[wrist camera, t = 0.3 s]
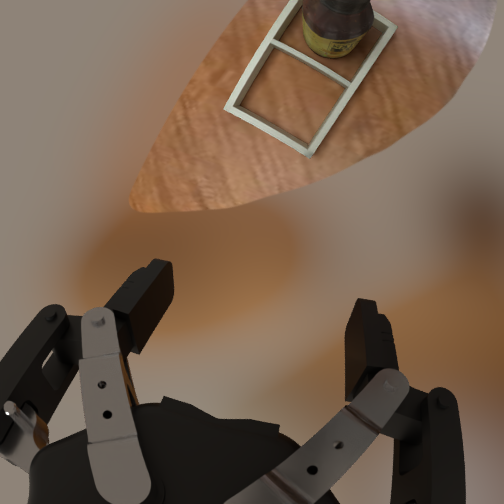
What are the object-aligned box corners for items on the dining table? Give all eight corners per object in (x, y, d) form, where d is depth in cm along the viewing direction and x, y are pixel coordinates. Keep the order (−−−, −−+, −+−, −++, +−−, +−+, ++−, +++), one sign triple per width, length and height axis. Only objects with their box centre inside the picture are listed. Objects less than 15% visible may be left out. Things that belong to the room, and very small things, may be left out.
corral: (308, -15, 25) (307, -25, 22) (390, 32, 26) (397, 26, 23) (231, 107, 35) (223, 108, 32) (310, 153, 36) (309, 158, 33)
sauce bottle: (332, 69, 30) (352, 39, 13) (293, 37, 29) (270, -21, 12) (366, 37, 27) (416, -15, 10) (327, 5, 26) (336, -73, 9)
